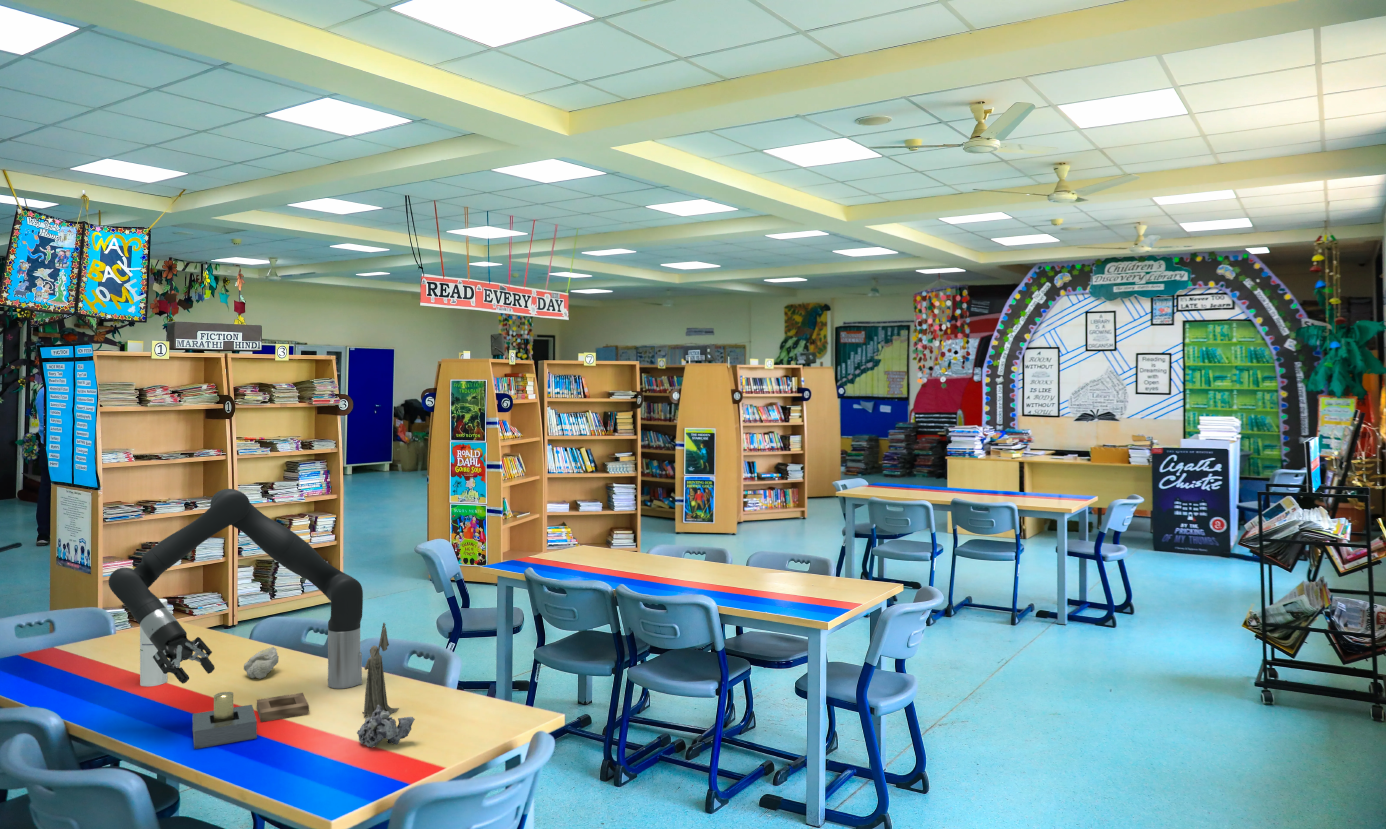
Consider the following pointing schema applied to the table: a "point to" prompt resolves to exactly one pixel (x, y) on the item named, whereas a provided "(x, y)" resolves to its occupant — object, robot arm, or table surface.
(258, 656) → the fossil replica
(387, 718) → the mineral specimen
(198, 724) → the charcoal block
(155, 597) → the robot arm
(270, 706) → the walnut stand
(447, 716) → the table surface
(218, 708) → the brass peg
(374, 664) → the wizard figurine
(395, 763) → the table surface
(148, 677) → the cylindrical container
